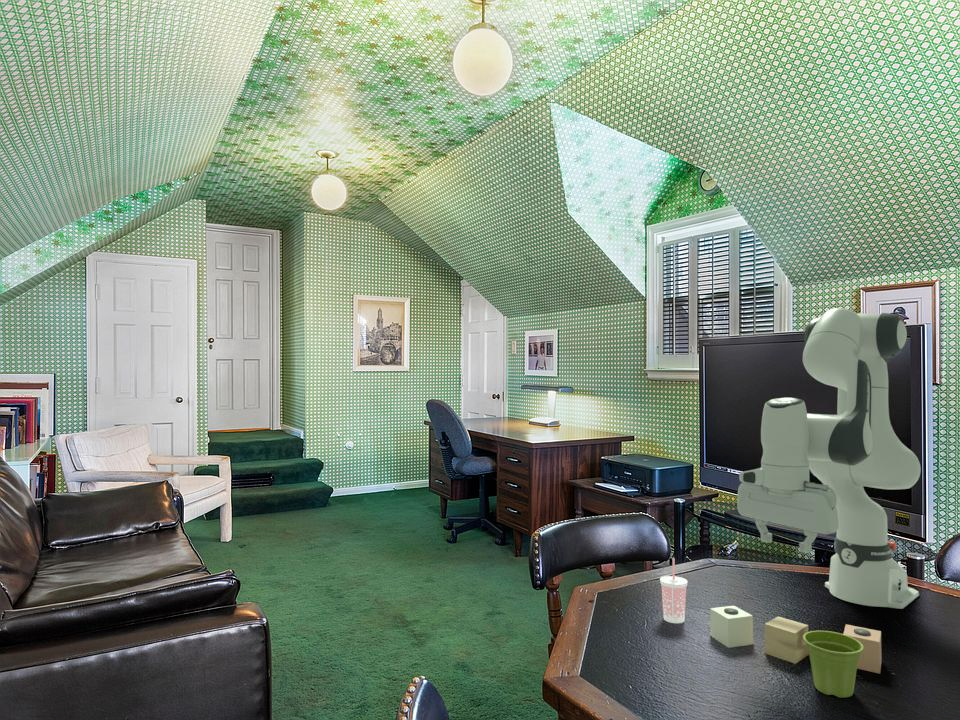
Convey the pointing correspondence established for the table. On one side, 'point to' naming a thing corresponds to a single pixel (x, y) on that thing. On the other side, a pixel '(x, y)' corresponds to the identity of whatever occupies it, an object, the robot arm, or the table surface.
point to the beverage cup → (673, 597)
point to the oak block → (786, 639)
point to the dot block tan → (867, 647)
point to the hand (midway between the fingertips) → (785, 546)
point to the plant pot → (833, 661)
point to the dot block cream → (731, 626)
